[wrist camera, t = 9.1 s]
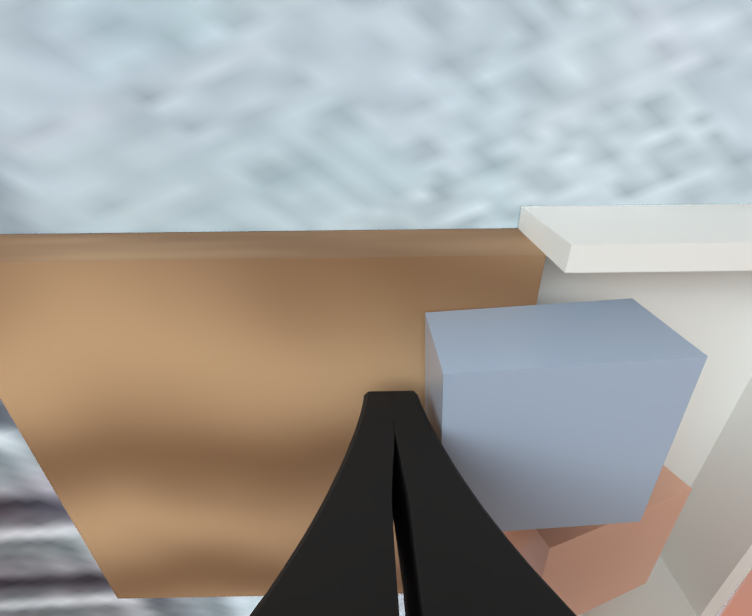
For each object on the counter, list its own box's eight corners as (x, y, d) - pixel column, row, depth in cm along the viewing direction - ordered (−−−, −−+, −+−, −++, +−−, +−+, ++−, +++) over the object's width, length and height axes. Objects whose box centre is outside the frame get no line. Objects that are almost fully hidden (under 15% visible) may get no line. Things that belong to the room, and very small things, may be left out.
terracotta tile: (593, 522, 16) (646, 582, 14) (484, 567, 15) (525, 641, 13) (623, 431, 14) (692, 488, 12) (497, 476, 13) (549, 548, 11)
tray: (658, 546, 18) (708, 625, 15) (465, 549, 18) (481, 629, 15) (846, 202, 11) (1004, 239, 8) (521, 205, 11) (571, 244, 8)
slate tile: (591, 446, 12) (640, 522, 10) (424, 457, 12) (439, 536, 10) (632, 298, 10) (708, 356, 8) (425, 312, 10) (443, 374, 8)
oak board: (466, 541, 18) (477, 591, 16) (143, 547, 17) (117, 598, 16) (517, 228, 11) (546, 255, 9) (-6, 234, 11) (-80, 262, 9)
